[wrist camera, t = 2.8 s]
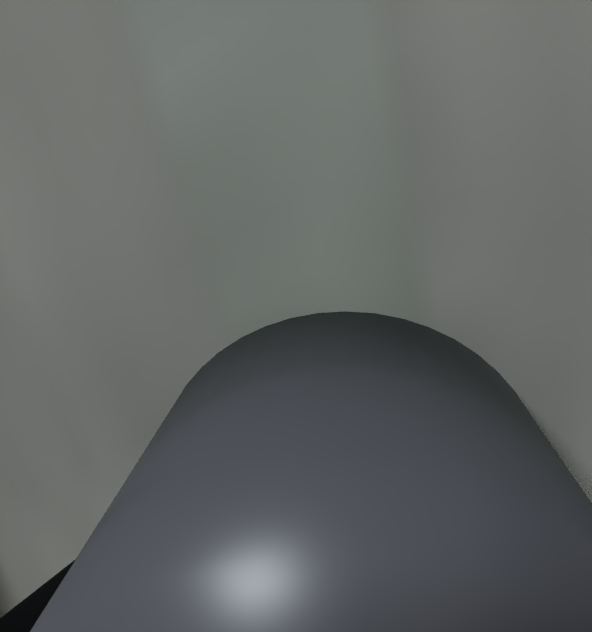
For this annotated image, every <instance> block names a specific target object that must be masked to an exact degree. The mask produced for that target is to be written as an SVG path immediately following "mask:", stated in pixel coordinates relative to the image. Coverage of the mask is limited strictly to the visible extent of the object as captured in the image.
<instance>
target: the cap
mask: <svg viewBox="0 0 592 632" xmlns="http://www.w3.org/2000/svg"><path fill="white" fill-rule="evenodd" d="M30 632H592V503H591V502H590V500H589V499H588V498H587V496H586V495H585V493H584V492H583V490H582V489H581V487H580V486H579V484H578V483H577V482H576V480H575V479H574V477H573V476H572V474H571V473H570V471H569V470H568V468H567V467H566V466H565V464H564V463H563V461H562V460H561V458H560V457H559V455H558V454H557V452H556V451H555V450H554V448H553V447H552V445H551V444H550V442H549V441H548V439H547V438H546V436H545V435H544V434H543V432H542V431H541V429H540V428H539V426H538V425H537V423H536V422H535V420H534V419H533V418H532V416H531V415H530V413H529V412H528V410H527V409H526V407H525V406H524V405H523V403H522V402H521V400H520V399H519V397H518V396H517V394H516V393H515V391H514V390H513V389H512V388H511V387H510V385H509V384H508V383H507V382H506V381H505V380H504V379H503V377H502V376H501V375H500V374H499V373H498V372H497V371H496V370H495V369H494V368H493V367H492V366H490V365H489V364H488V363H487V362H486V361H485V360H483V359H482V358H481V357H480V356H479V355H478V354H476V353H475V352H473V351H472V350H470V349H469V348H467V347H465V346H464V345H462V344H461V343H459V342H458V341H456V340H455V339H453V338H450V337H448V336H446V335H444V334H442V333H440V332H438V331H436V330H434V329H431V328H429V327H426V326H423V325H420V324H417V323H414V322H411V321H408V320H405V319H401V318H396V317H390V316H385V315H380V314H375V313H359V312H331V313H317V314H311V315H306V316H301V317H295V318H290V319H287V320H284V321H281V322H278V323H275V324H272V325H268V326H265V327H263V328H261V329H259V330H257V331H255V332H252V333H250V334H248V335H246V336H244V337H242V338H240V339H239V340H237V341H236V342H234V343H232V344H231V345H229V346H228V347H226V348H225V349H223V350H222V351H220V352H219V353H218V354H217V355H215V356H214V357H213V358H212V359H211V360H210V361H209V362H207V363H206V364H205V365H204V366H203V367H202V368H201V369H200V370H199V371H198V372H197V374H196V375H195V376H194V377H193V378H192V379H191V381H190V382H189V383H188V384H187V385H186V387H185V388H184V390H183V391H182V393H181V395H180V396H179V398H178V399H177V401H176V402H175V404H174V406H173V407H172V409H171V410H170V412H169V413H168V415H167V417H166V418H165V420H164V421H163V423H162V424H161V426H160V428H159V429H158V431H157V432H156V434H155V436H154V437H153V439H152V440H151V442H150V443H149V445H148V447H147V448H146V450H145V451H144V453H143V454H142V456H141V458H140V459H139V461H138V462H137V464H136V465H135V467H134V469H133V470H132V472H131V473H130V475H129V476H128V478H127V480H126V481H125V483H124V484H123V486H122V487H121V489H120V491H119V492H118V494H117V495H116V497H115V498H114V500H113V502H112V503H111V505H110V506H109V508H108V510H107V511H106V513H105V514H104V516H103V517H102V519H101V521H100V522H99V524H98V525H97V527H96V528H95V530H94V532H93V533H92V535H91V536H90V538H89V539H88V541H87V543H86V544H85V546H84V547H83V549H82V550H81V552H80V554H79V555H78V557H77V558H76V560H75V561H74V563H73V565H72V566H71V568H70V569H69V571H68V573H67V574H66V576H65V577H64V579H63V580H62V582H61V584H60V585H59V587H58V588H57V590H56V591H55V593H54V595H53V596H52V598H51V599H50V601H49V602H48V604H47V606H46V607H45V609H44V610H43V612H42V613H41V615H40V617H39V618H38V620H37V621H36V623H35V624H34V626H33V628H32V629H31V631H30Z"/></svg>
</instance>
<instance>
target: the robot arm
mask: <svg viewBox="0 0 592 632" xmlns="http://www.w3.org/2000/svg"><path fill="white" fill-rule="evenodd" d="M75 560H76V559H75ZM75 560H74V561H75ZM74 561H73V562H72V563H70V564H69V565H68V566H66V567H65V568H64V569H63V570H61V571H60V572H59V573H58V574H56V575H55V576H54V577H52V578H51V579H50V580H49V581H47V582H46V583H45V584H43V585H42V586H41V587H40V588H38V589H37V590H36V591H35V592H33V593H32V594H31V595H29V596H28V597H27V598H26V599H24V600H23V601H22V602H20V603H19V604H18V605H17V606H15V607H14V608H13V609H12V610H10V611H9V612H8V613H6V614H5V615H4V616H3V617H1V618H0V632H30V631H31V629H32V628H33V626H34V624H35V623H36V621H37V620H38V618H39V617H40V615H41V613H42V612H43V610H44V609H45V607H46V606H47V604H48V602H49V601H50V599H51V598H52V596H53V595H54V593H55V591H56V590H57V588H58V587H59V585H60V584H61V582H62V580H63V579H64V577H65V576H66V574H67V573H68V571H69V569H70V568H71V566H72V565H73V563H74Z"/></svg>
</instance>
